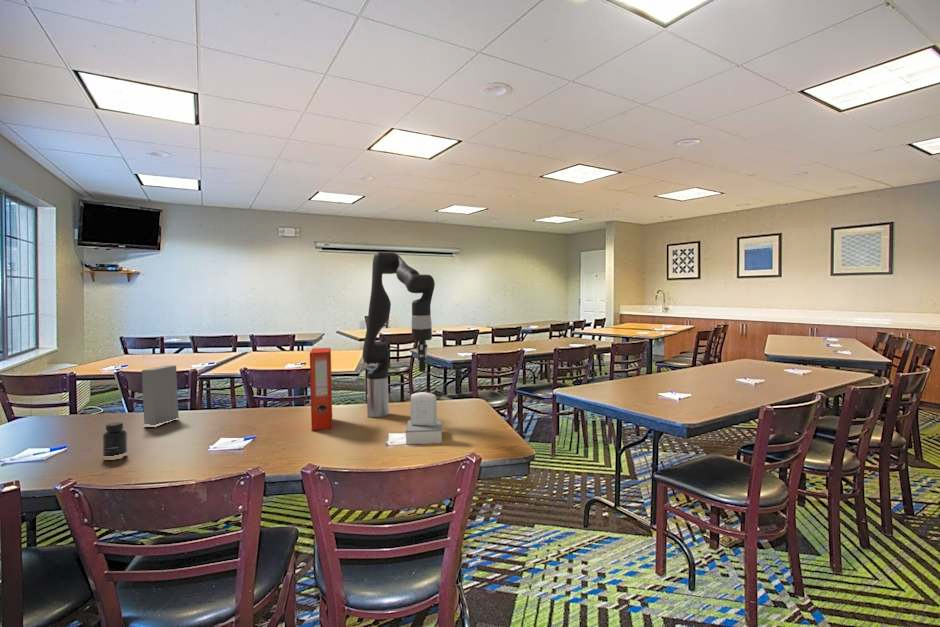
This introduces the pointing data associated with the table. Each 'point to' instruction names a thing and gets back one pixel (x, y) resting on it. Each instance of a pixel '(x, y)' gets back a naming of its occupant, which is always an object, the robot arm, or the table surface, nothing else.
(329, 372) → the file binder
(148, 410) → the grey upright panel
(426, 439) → the plinth
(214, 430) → the table surface
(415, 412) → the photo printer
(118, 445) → the supplement bottle
